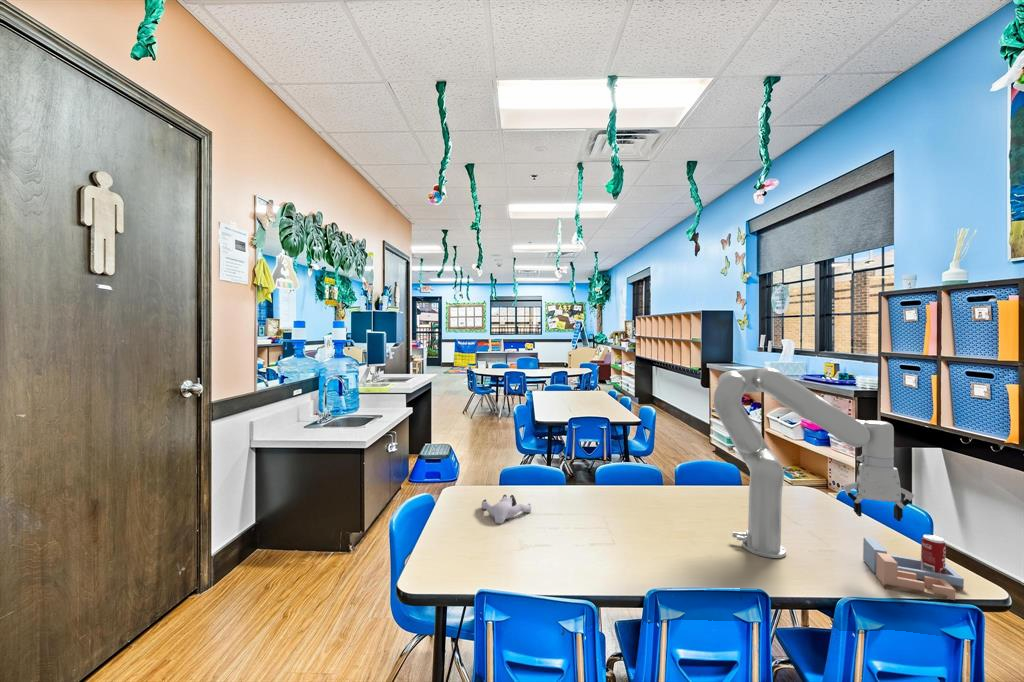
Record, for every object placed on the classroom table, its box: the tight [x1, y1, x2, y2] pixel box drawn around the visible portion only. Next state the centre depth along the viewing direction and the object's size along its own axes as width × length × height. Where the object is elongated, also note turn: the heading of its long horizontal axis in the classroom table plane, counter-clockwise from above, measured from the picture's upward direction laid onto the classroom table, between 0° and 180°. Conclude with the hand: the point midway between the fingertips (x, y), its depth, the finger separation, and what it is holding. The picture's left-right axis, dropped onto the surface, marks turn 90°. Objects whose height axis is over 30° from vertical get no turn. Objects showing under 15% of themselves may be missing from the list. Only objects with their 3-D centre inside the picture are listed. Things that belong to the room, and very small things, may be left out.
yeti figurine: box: [481, 494, 532, 525], centre depth 173 cm, size 20×7×20 cm
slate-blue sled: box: [862, 536, 965, 590], centre depth 134 cm, size 20×9×7 cm, turn 68°
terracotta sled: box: [875, 552, 926, 591], centre depth 128 cm, size 9×6×7 cm, turn 68°
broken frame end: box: [924, 576, 956, 601], centre depth 125 cm, size 4×6×3 cm
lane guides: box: [883, 579, 964, 601], centre depth 131 cm, size 20×19×1 cm
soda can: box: [920, 534, 947, 574], centre depth 132 cm, size 5×5×12 cm
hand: (877, 517), depth 138 cm, fingers open, 9 cm apart
